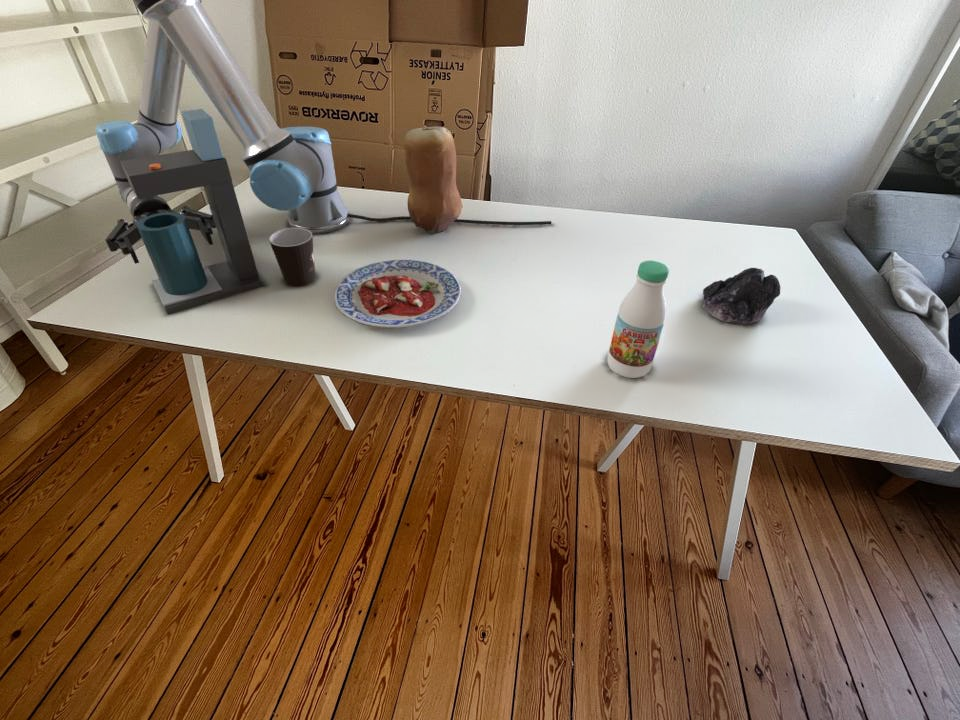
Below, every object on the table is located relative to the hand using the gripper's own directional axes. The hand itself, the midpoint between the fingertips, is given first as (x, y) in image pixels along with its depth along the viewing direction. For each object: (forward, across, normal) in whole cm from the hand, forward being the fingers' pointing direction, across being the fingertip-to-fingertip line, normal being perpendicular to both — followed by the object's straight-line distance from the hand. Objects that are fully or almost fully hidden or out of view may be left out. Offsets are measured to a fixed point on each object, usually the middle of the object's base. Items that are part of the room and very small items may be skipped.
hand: (173, 247), depth 102 cm
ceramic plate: (+27, -34, -10) cm, 45 cm away
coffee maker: (-1, -4, -10) cm, 11 cm away
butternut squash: (+4, -58, -10) cm, 59 cm away
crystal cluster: (+69, -89, -10) cm, 114 cm away
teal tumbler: (-1, 0, -9) cm, 9 cm away
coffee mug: (+7, -22, -10) cm, 25 cm away
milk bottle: (+69, -57, -10) cm, 90 cm away
